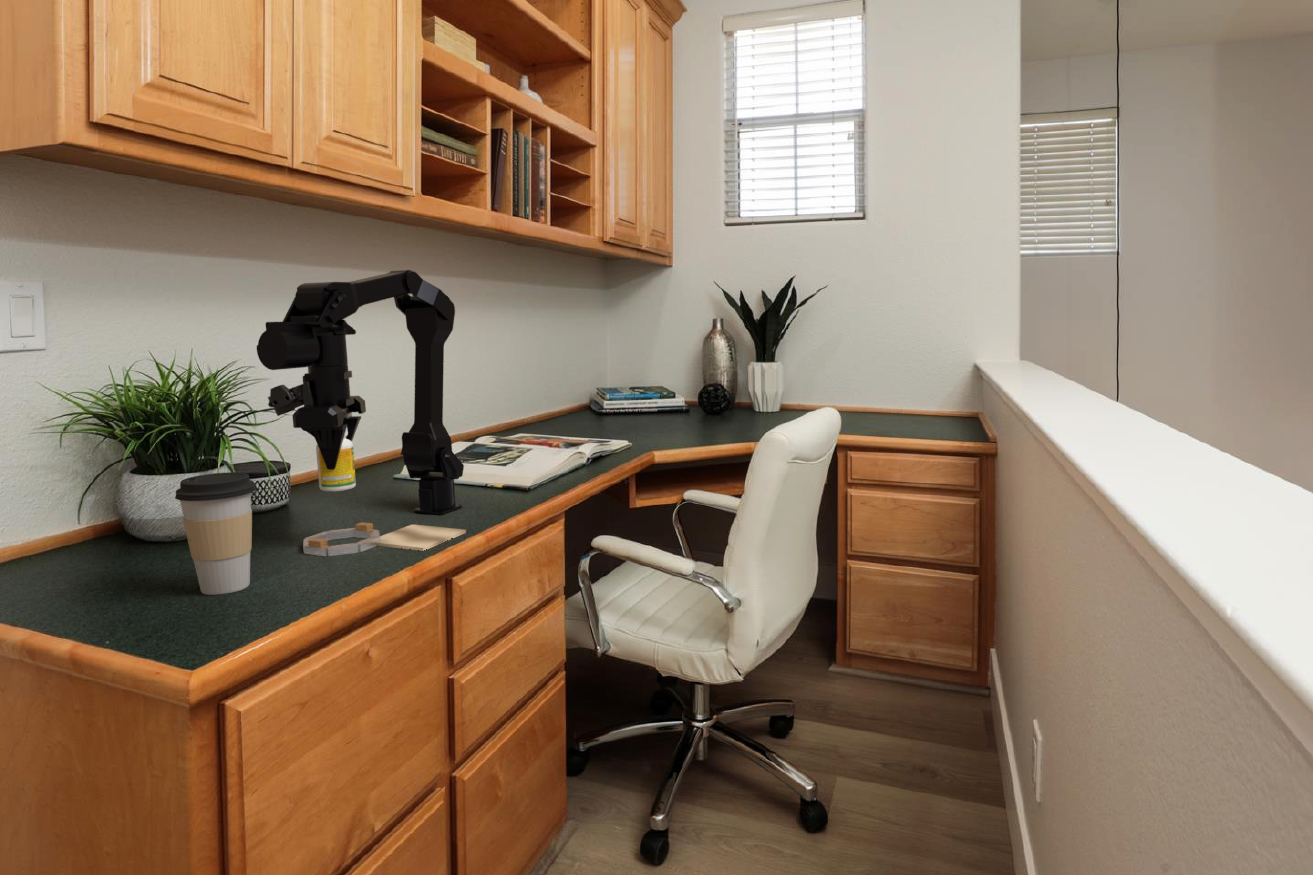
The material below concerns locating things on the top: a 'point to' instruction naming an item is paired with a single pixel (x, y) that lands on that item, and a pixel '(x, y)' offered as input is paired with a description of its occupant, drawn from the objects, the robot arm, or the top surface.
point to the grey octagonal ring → (319, 541)
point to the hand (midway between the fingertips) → (336, 465)
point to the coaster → (418, 537)
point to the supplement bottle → (338, 469)
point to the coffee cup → (219, 529)
